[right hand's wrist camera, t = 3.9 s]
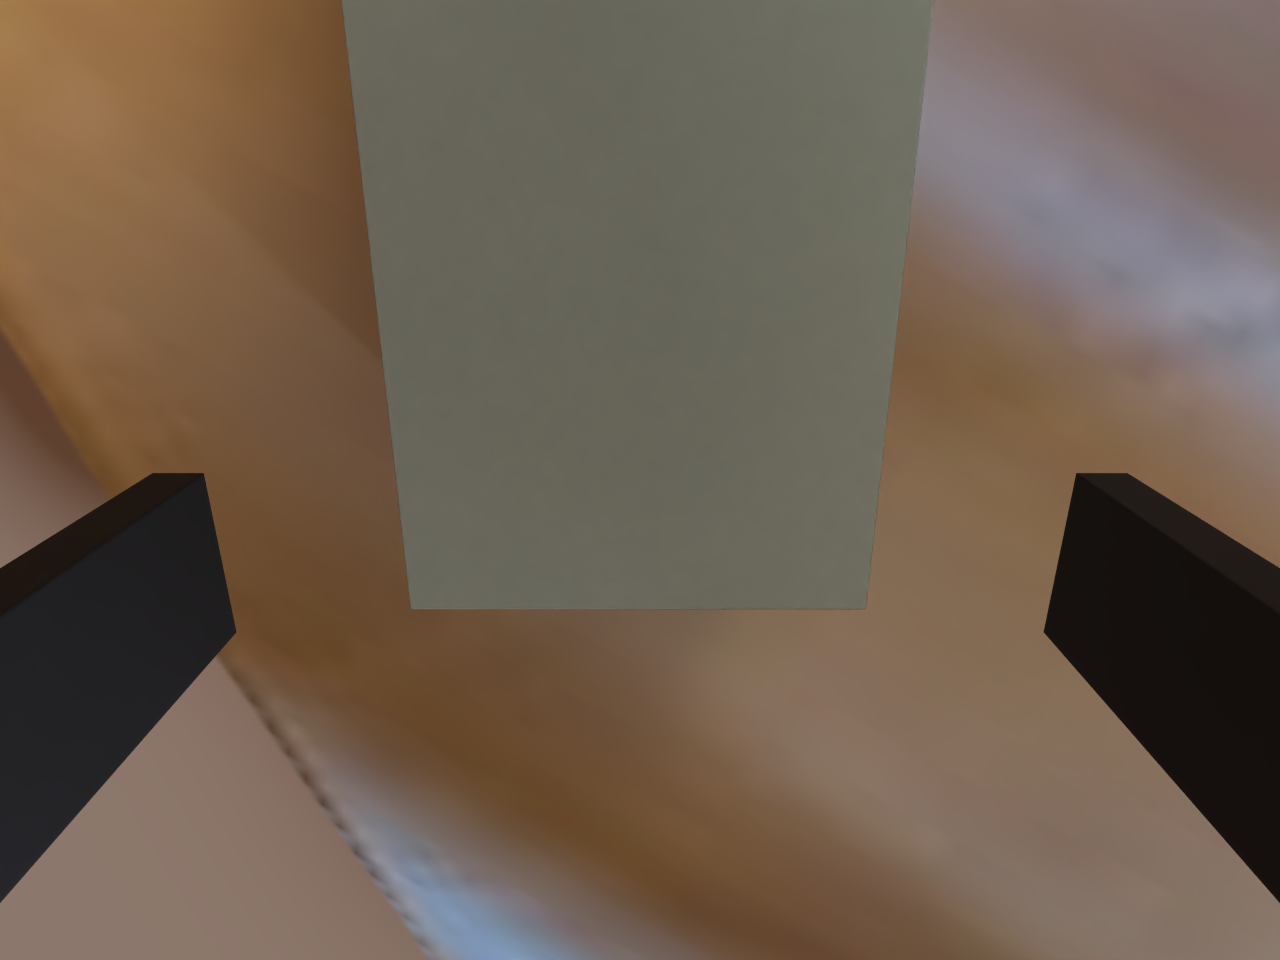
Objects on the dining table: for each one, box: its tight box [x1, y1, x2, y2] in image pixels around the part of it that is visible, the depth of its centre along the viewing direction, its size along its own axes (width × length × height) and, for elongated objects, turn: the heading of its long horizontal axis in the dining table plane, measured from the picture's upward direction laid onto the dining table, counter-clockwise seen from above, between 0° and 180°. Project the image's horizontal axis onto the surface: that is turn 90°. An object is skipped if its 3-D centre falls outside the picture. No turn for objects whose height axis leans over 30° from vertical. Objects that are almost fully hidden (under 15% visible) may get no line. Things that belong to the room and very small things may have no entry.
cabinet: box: [341, 0, 934, 609], centre depth 21 cm, size 18×11×10 cm, turn 0°
